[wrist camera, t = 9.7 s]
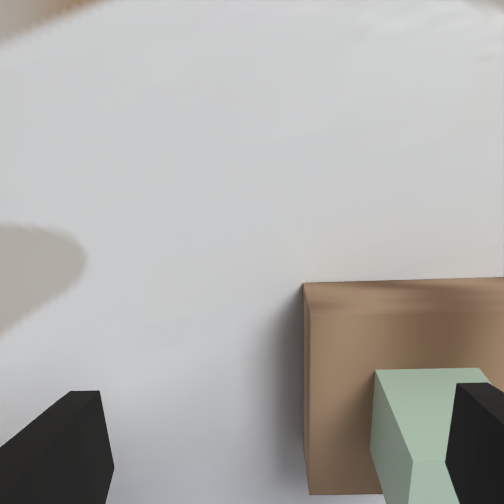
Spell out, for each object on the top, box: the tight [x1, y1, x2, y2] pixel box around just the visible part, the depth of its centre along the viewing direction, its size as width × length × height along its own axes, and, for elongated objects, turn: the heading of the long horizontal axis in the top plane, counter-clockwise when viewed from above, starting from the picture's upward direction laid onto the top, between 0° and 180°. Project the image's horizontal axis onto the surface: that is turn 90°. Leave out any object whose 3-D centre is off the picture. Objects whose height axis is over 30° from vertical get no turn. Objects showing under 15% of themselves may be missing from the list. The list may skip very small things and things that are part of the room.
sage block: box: [370, 368, 492, 504], centre depth 16 cm, size 4×4×4 cm
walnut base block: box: [303, 277, 504, 495], centre depth 19 cm, size 9×9×3 cm
